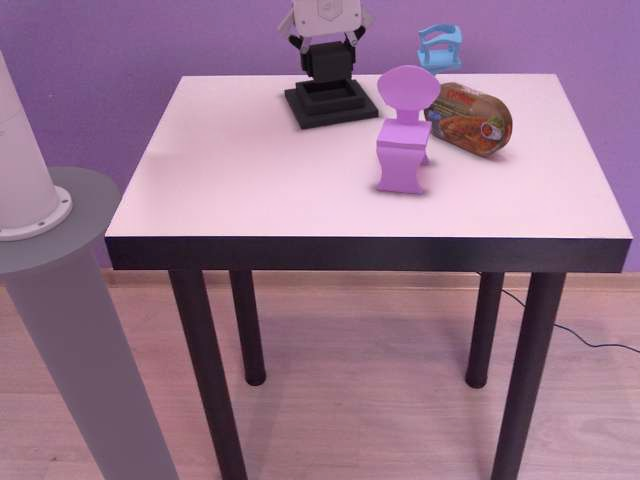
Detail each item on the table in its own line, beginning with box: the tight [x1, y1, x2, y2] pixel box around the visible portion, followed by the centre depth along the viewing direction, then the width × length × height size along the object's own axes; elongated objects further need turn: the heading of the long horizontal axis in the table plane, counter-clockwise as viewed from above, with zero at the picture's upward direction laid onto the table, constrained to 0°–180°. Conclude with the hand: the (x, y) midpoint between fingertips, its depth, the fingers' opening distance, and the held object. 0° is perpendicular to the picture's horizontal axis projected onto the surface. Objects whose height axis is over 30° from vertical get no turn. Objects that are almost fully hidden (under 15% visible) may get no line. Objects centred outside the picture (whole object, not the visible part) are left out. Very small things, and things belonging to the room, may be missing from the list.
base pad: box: [283, 78, 380, 130], centre depth 104 cm, size 13×13×3 cm
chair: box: [416, 23, 463, 85], centre depth 103 cm, size 8×8×12 cm
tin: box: [422, 81, 514, 157], centre depth 91 cm, size 15×3×8 cm, turn 42°
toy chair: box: [375, 64, 441, 195], centre depth 82 cm, size 8×9×15 cm
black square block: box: [309, 40, 353, 84], centre depth 100 cm, size 6×6×4 cm
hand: (328, 70), depth 101 cm, fingers closed on black square block, 6 cm apart
